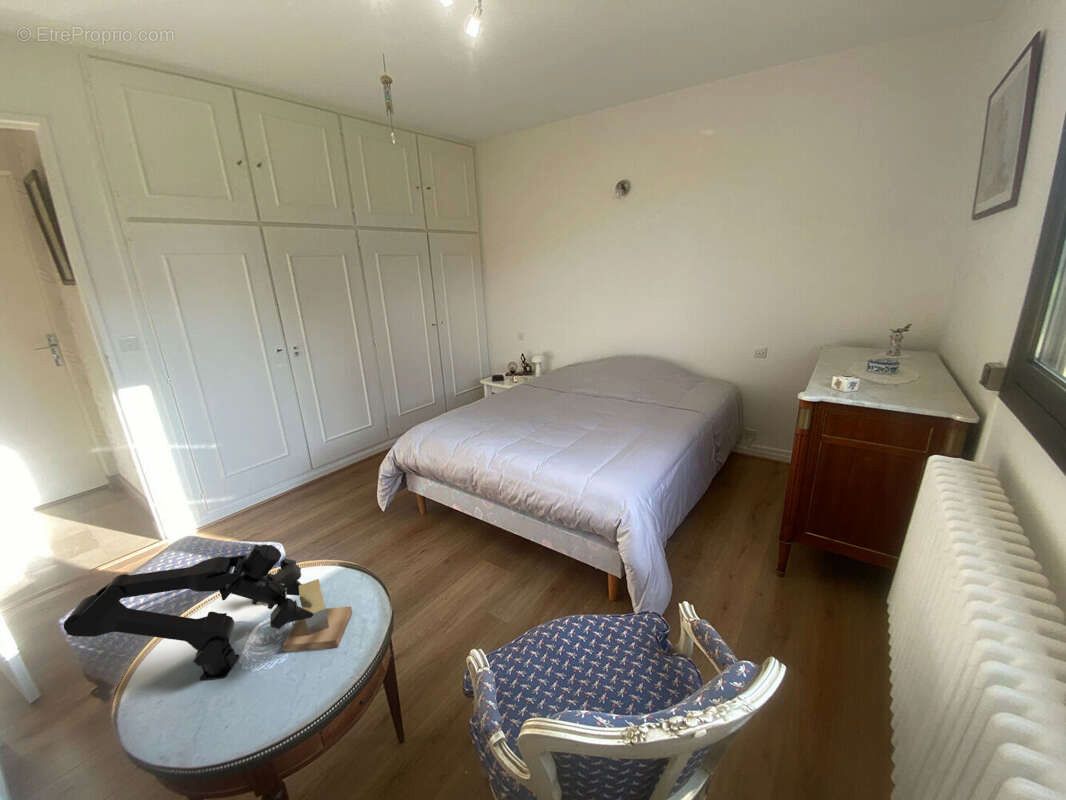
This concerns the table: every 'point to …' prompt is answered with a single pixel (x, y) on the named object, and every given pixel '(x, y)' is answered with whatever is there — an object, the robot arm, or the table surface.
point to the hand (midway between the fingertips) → (311, 604)
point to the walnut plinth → (323, 638)
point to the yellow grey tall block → (314, 606)
